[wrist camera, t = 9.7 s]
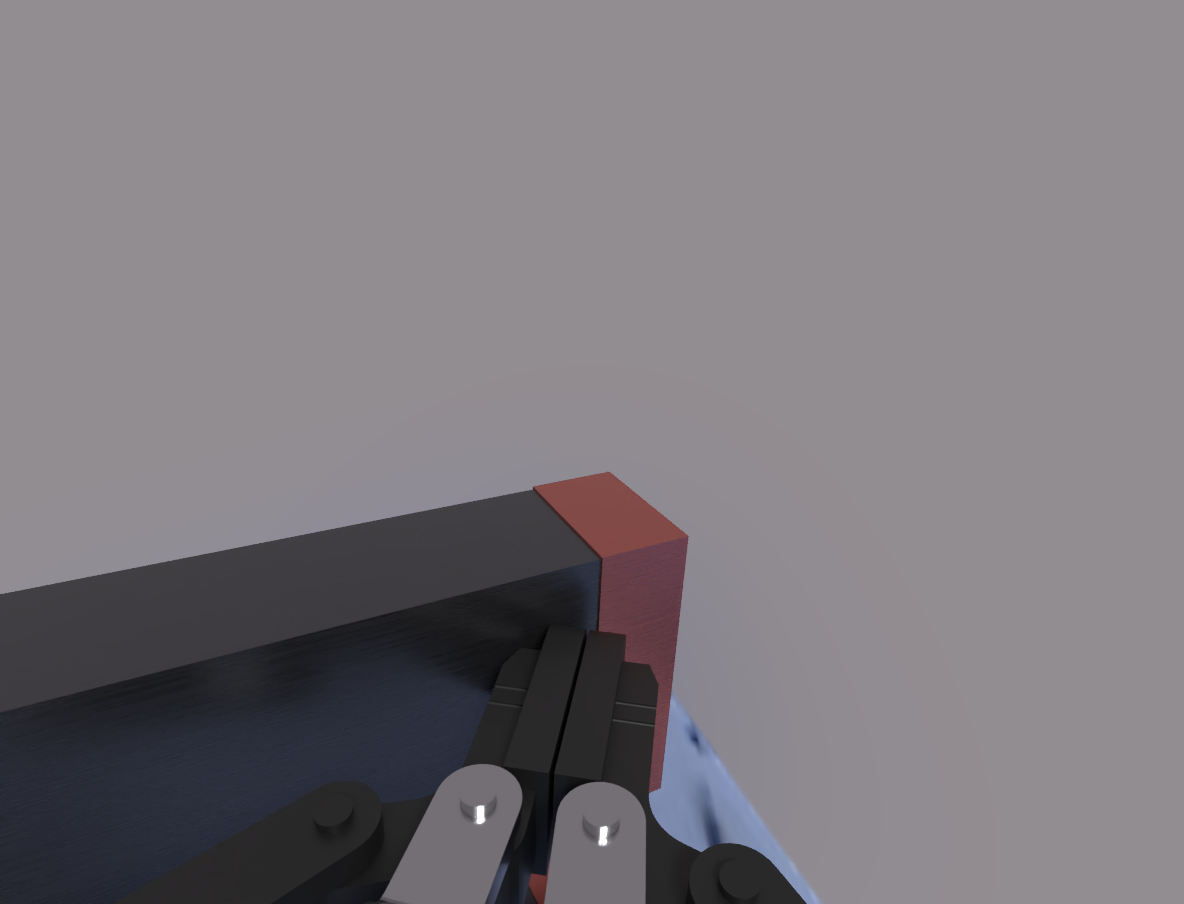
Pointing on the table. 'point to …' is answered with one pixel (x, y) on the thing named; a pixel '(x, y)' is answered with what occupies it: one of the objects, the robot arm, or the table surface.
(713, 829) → the table surface
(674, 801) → the table surface
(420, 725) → the lid
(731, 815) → the table surface
